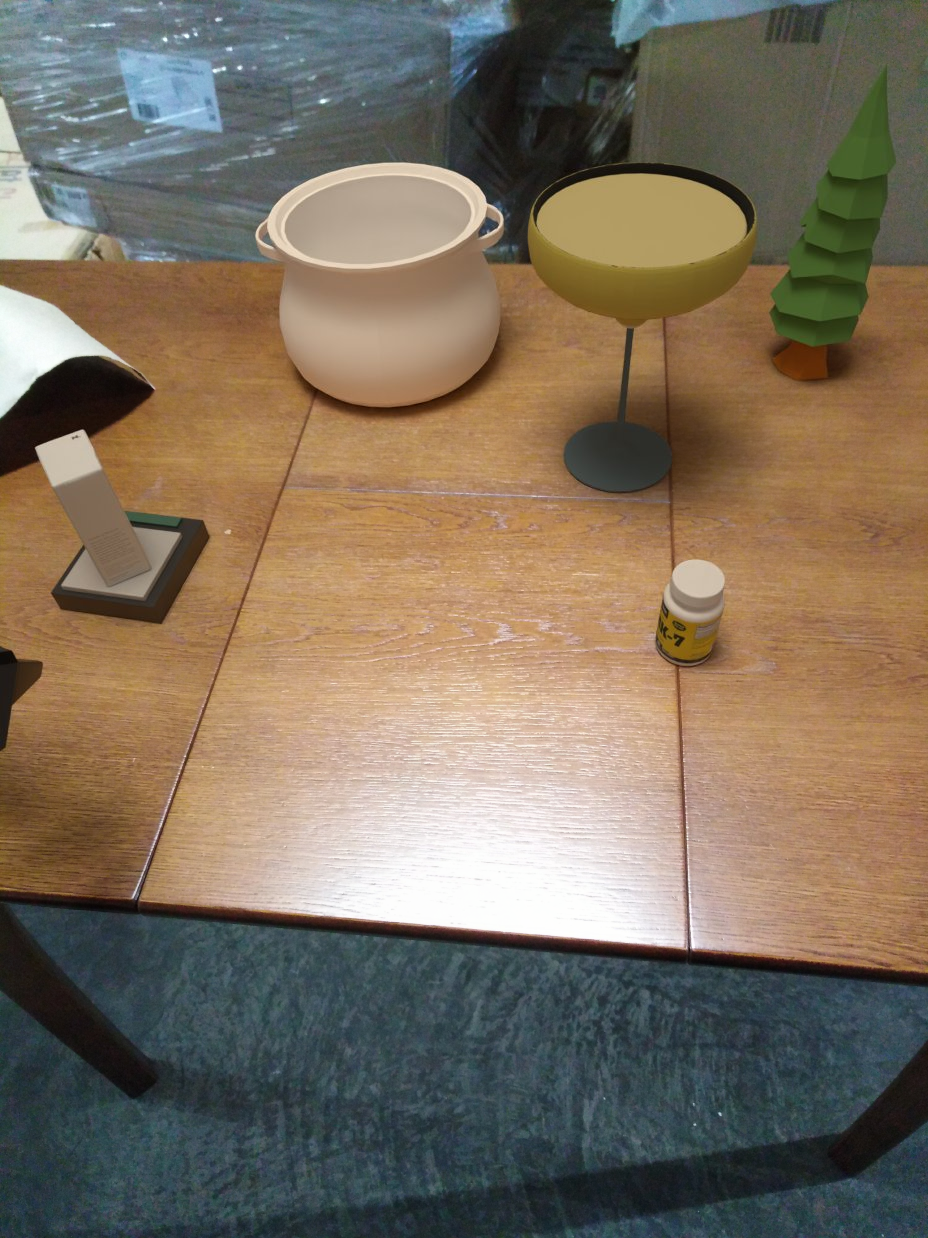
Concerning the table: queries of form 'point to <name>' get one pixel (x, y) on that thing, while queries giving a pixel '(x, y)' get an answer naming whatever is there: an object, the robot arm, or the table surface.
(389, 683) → the table surface
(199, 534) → the kitchen scale
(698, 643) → the supplement bottle
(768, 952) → the table surface
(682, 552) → the table surface
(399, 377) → the pot
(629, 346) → the cocktail glass
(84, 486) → the cosmetic box
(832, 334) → the decorative tree
